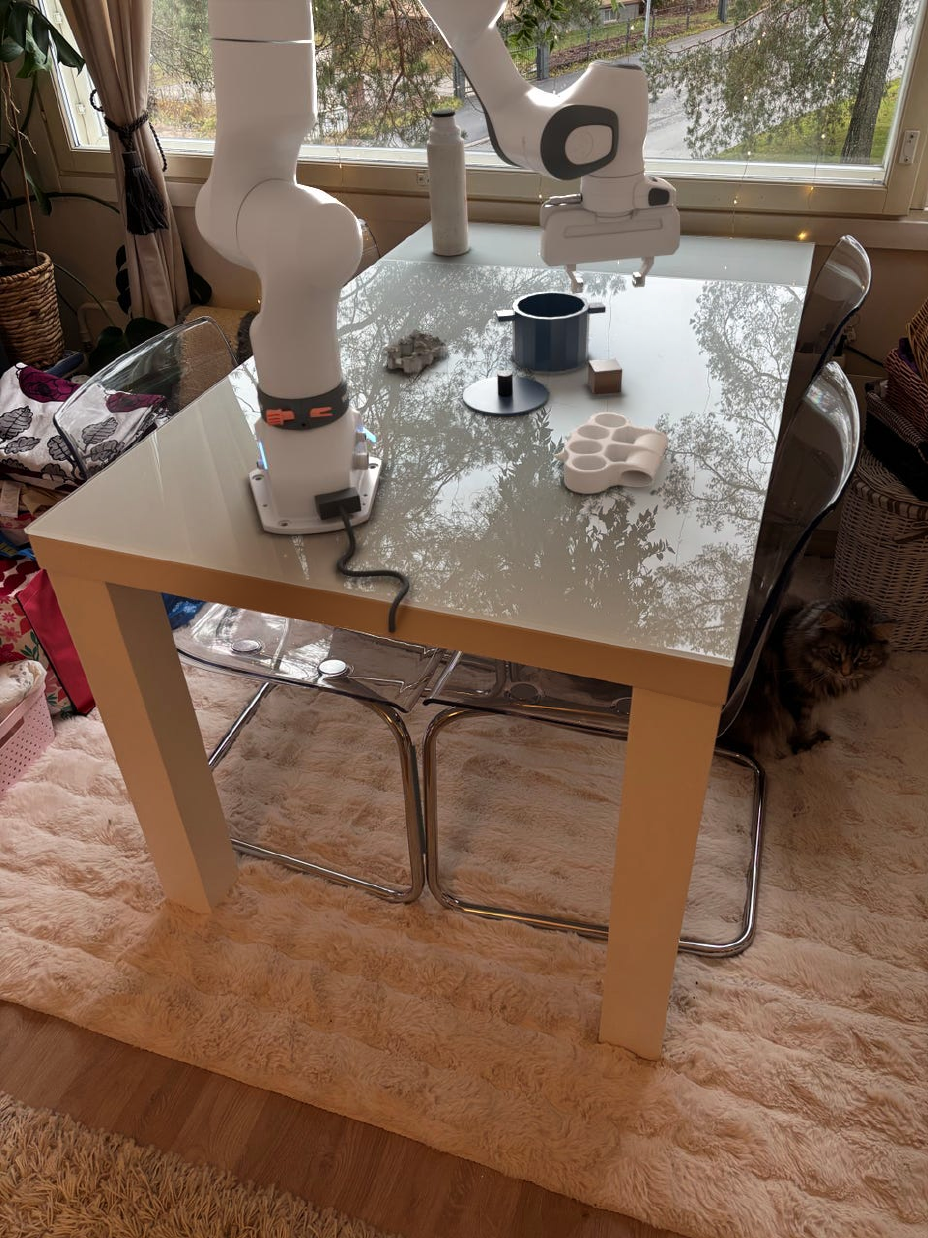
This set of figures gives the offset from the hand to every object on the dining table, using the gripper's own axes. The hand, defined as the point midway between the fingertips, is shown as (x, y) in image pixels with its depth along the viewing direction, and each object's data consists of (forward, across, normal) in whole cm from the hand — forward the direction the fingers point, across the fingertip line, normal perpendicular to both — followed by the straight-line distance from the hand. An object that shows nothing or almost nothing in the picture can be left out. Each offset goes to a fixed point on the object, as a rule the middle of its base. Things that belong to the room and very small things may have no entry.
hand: (607, 288), depth 140 cm
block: (+16, 0, -1) cm, 16 cm away
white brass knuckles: (+16, -5, -24) cm, 29 cm away
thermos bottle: (+16, -16, +77) cm, 80 cm away
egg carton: (+16, -29, +17) cm, 37 cm away
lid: (+15, -16, -1) cm, 22 cm away
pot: (+16, -6, +13) cm, 21 cm away
